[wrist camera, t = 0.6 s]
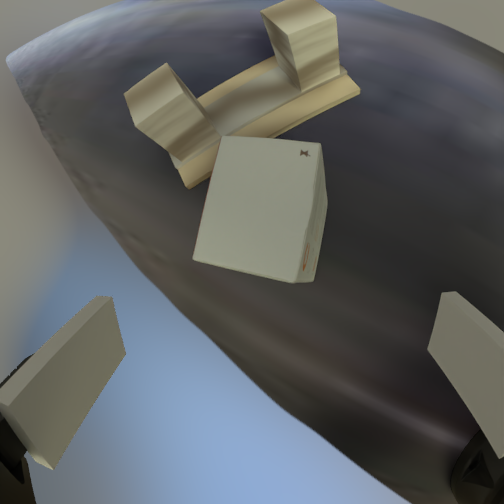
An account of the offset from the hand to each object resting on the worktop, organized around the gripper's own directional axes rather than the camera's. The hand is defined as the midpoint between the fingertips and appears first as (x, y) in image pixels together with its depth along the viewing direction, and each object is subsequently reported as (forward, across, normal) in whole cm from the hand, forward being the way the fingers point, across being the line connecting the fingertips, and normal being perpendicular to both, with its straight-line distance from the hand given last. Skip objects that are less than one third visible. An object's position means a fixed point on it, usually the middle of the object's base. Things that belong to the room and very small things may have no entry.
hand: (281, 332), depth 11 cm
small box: (+19, -2, +1) cm, 19 cm away
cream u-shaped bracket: (+25, +2, -13) cm, 28 cm away
